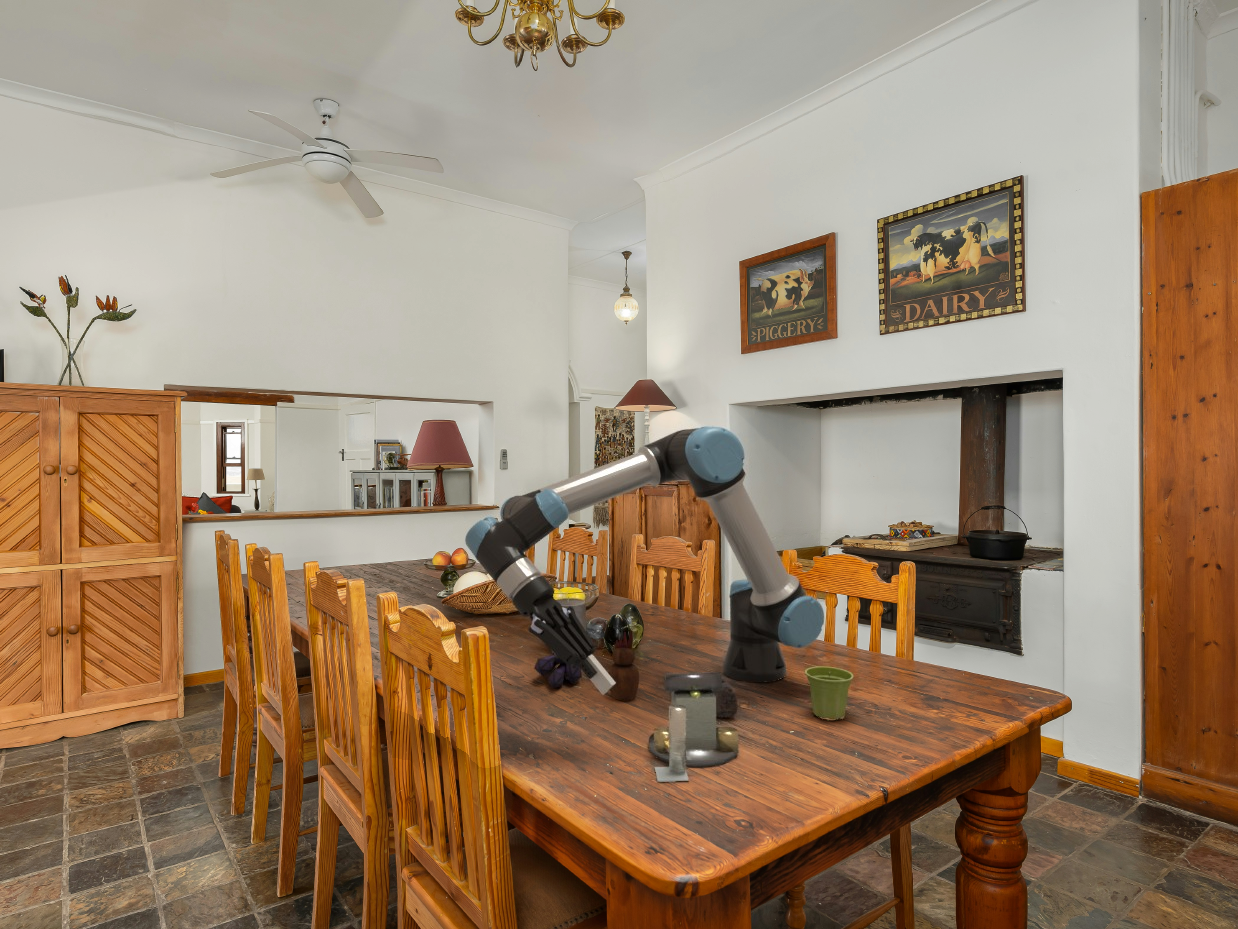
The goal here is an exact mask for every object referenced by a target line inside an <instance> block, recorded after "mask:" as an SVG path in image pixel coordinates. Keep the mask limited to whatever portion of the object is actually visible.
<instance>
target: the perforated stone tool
mask: <svg viewBox="0 0 1238 929" xmlns="http://www.w3.org/2000/svg"><path fill="white" fill-rule="evenodd" d="M713 693H714V695H715V696H716V717H719V718H722V719H723V718H732V717H734V716H736V714H737V712H738V710H739V705H738V704H739V702H738V697H737V693H736V691H735V689H734V687H733V686H732V685H731V684H730V683H729V682H728V681H727V680H726V679H724V678H722V691H713Z"/></svg>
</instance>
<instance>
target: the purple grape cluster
mask: <svg viewBox="0 0 1238 929" xmlns="http://www.w3.org/2000/svg"><path fill="white" fill-rule="evenodd" d="M573 665H574V664H572V665H571V666H568V665H567V664H566V663H565V662H564V661H563V660H562V659H560V658H559V657H558V656H557V655H556V654H550V655H547V656H543V657H538V658H537V659H536V662H535V665H534V667H533V669H534V670H535V671H536V672H537V673H539V675H541V677H545V676H547V675H548V674H550V673H551V674H550V675H549V676H548V677H547V681H548V683H549V685H550V686H551V688H552V689H556V688H558V687H561V686H562V687H563V685H564V684H563V683H564V679H566V681H569V683H571V685H573V684H574V685H575V684H576V683H578V681H579V680H580V679H582V677H583V675H582V670H581V668H580V667H579V666H577V667H576V668H575V669H573V668H572V666H573ZM564 677H565V678H564Z"/></svg>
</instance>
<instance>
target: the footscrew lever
mask: <svg viewBox="0 0 1238 929" xmlns="http://www.w3.org/2000/svg"><path fill="white" fill-rule="evenodd" d="M653 733H654V749H655V750H657V751H660V752H669V763H668V767H669V769H670V770H671V771H674V772H683V771H685V770H686V771H687V767H686V707H685V706H683V705H671V704H670V705H669V706H668V726H658V727H656V728H654V729H653Z"/></svg>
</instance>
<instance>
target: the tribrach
mask: <svg viewBox="0 0 1238 929" xmlns="http://www.w3.org/2000/svg"><path fill="white" fill-rule="evenodd" d="M663 676H664V677H663V678H664V679H663V681H664V692H665V693H670V696H671V697H670V700H671V701H670V702H671V704H670V706H671V705H683V706H685V707H686V768H712V767H717V765H718V766H720V765H721V764H722V765H724V764H727V763H730V762H731V761H733V760H734V759H735V758H736V757H737V755H738V754H739V730H738V729H737V728H736V727H730V726H721V727H719V728H718V727H717V716H716V696H715V695H714V693H713V691H722V679H723V676H722V673H721V672H720V671H718V672H673V673H672V672H671V673H670V672H668V673H664V675H663ZM648 750H649V752H650V753H652V754H651V755H652V756H653V755H654V756H653V757H655V758H656V757H657V758H656V759H658V760H659V759H660V761H661V760H662V761H661V762H664V763H666V762H667V764H669V752H660V751H657V750H655V749H654V732H653V733H652V734H650V736H649V738H648Z"/></svg>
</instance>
